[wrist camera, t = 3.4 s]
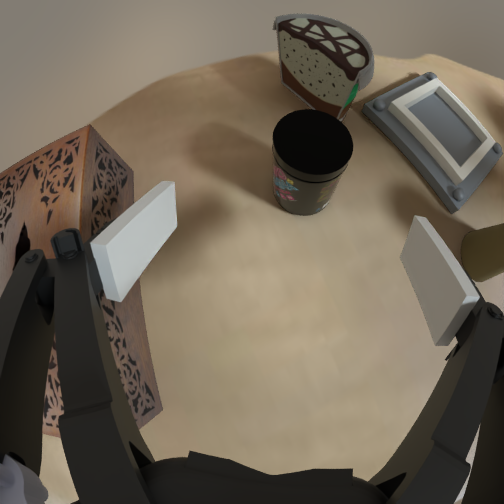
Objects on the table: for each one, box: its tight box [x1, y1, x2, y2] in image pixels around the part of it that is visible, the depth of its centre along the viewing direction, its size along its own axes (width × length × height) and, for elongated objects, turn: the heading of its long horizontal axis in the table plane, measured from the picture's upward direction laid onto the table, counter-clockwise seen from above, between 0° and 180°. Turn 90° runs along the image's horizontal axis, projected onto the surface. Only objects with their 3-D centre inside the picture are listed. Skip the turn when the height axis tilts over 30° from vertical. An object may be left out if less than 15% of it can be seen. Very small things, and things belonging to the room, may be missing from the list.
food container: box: [273, 14, 374, 122], centre depth 25 cm, size 12×6×10 cm, turn 36°
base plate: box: [362, 72, 503, 214], centre depth 26 cm, size 16×16×3 cm
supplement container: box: [272, 109, 353, 216], centre depth 23 cm, size 6×6×9 cm
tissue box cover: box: [0, 124, 163, 438], centre depth 22 cm, size 26×14×10 cm, turn 11°
